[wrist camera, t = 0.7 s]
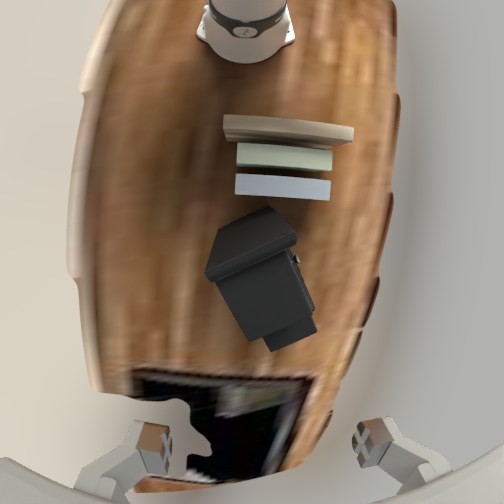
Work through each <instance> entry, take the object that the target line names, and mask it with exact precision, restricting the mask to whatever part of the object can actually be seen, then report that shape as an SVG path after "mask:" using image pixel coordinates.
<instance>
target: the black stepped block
mask: <svg viewBox="0 0 504 504" xmlns="http://www.w3.org/2000/svg"><path fill="white" fill-rule="evenodd" d="M297 238H298V235H297V233H296V231H294V230H293V228H292V227H291V226H290V225H289V224H288V223H287V222H286V221H285V220H284V219H283V218H282V217H281V216H280V215H279V214H278V213H277V212H276V211H275V210H274V209H273V208H272V207H271V206H266V207H264V208H263V209H261V210H258V211H256V212H253V213H251V214H249V215H247V216H245V217H243V218H241V219H238V220H237V221H234V222H232V223H230V224H228V225H226V226H224V227H222V228H220V229H218V232H217V235H216V238H215V241H214V244H213V247H212V250H211V253H210V257H209V260H208V263H207V266H206V269H205V272H204V273H205V275H206V277H207V278H208V279H209V281H211V282H215V283H216V285H217V286H218V288H219V290H220V292H221V294H222V296H223V297H224V299H225V301H226V303H227V305H228V306H229V308H230V310H231V312H232V313H233V315H234V317H235V319H236V321H237V322H238V324H239V326H240V327H241V329H242V331H243V333H244V334H245V336H246V338H247V339H248V341H249V342H251V341H254V340H257V339H259V338H263V339H264V341H265V343H266V345H267V346H268V348H269V350H270V351H271V352H273V351H275V350H278V349H280V348H282V347H285V346H287V345H289V344H292V343H294V342H296V341H299V340H301V339H303V338H305V337H308V336H310V335H312V334H314V333H316V332H317V328H316V325H315V323H314V321H313V318H312V314H313V313H312V311H314V310H315V307H314V305H313V302H312V300H311V297H310V295H309V293H308V290H307V288H306V286H305V283H304V280H303V278H302V276H301V274H300V270H299V268H298V267H297V264H296V263H298V264H299V263H300V261H299V259H298V257H297V255H294V257H293V255H292V252H291V251H290V247H292V246H294V245H295V244H296V242H297Z"/></svg>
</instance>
